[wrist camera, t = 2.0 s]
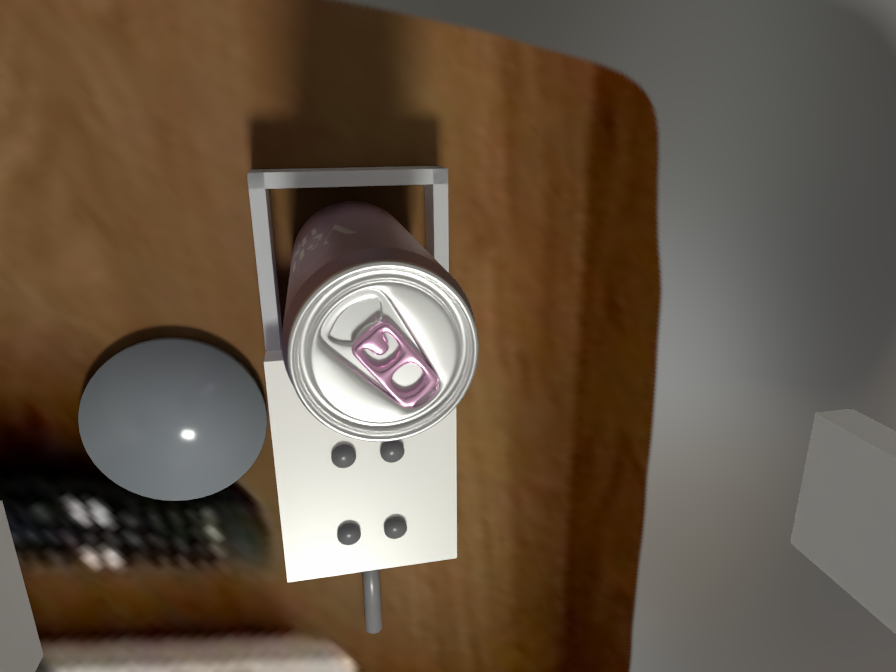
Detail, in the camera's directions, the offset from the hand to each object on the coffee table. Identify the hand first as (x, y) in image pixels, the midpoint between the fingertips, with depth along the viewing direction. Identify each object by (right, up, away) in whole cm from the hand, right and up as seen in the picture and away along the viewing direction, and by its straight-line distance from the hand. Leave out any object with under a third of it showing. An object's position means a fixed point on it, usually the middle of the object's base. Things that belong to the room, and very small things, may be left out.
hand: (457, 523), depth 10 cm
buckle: (-5, -2, +25) cm, 25 cm away
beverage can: (-5, +7, +22) cm, 24 cm away
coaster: (-14, -1, +23) cm, 27 cm away
